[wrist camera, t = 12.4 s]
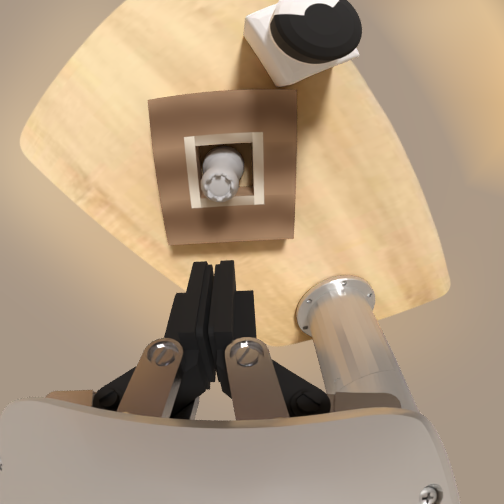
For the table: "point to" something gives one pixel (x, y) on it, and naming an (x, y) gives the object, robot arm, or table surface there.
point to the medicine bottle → (303, 37)
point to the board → (225, 132)
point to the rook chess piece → (222, 173)
